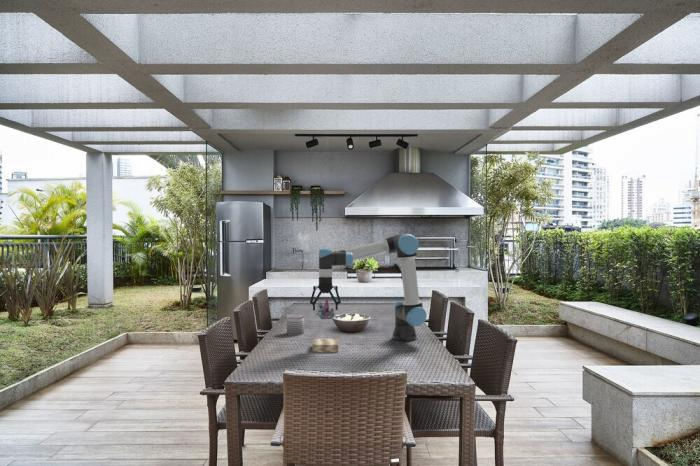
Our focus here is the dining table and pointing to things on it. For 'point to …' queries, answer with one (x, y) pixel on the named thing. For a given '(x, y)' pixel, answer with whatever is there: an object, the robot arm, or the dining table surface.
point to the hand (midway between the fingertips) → (325, 316)
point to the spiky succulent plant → (325, 311)
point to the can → (295, 324)
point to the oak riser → (325, 345)
